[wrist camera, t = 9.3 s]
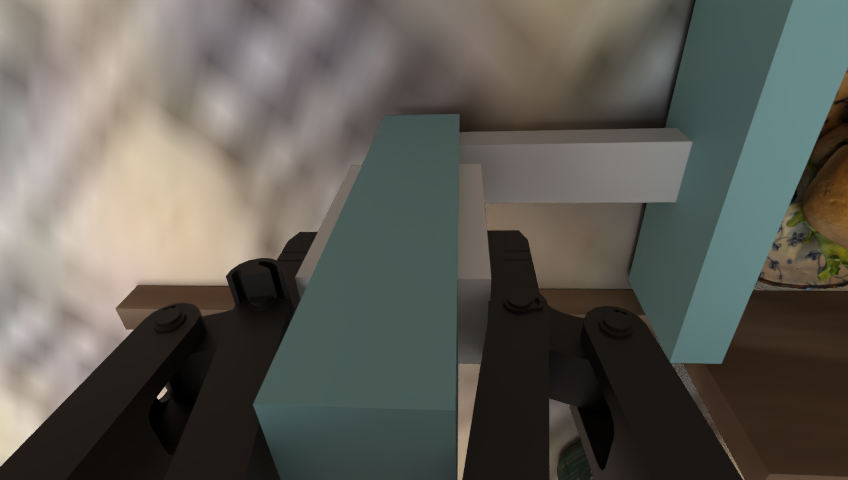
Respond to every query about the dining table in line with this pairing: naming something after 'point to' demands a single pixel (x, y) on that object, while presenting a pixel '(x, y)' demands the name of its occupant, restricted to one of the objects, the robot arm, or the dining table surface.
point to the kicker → (548, 183)
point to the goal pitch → (707, 372)
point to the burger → (817, 213)
